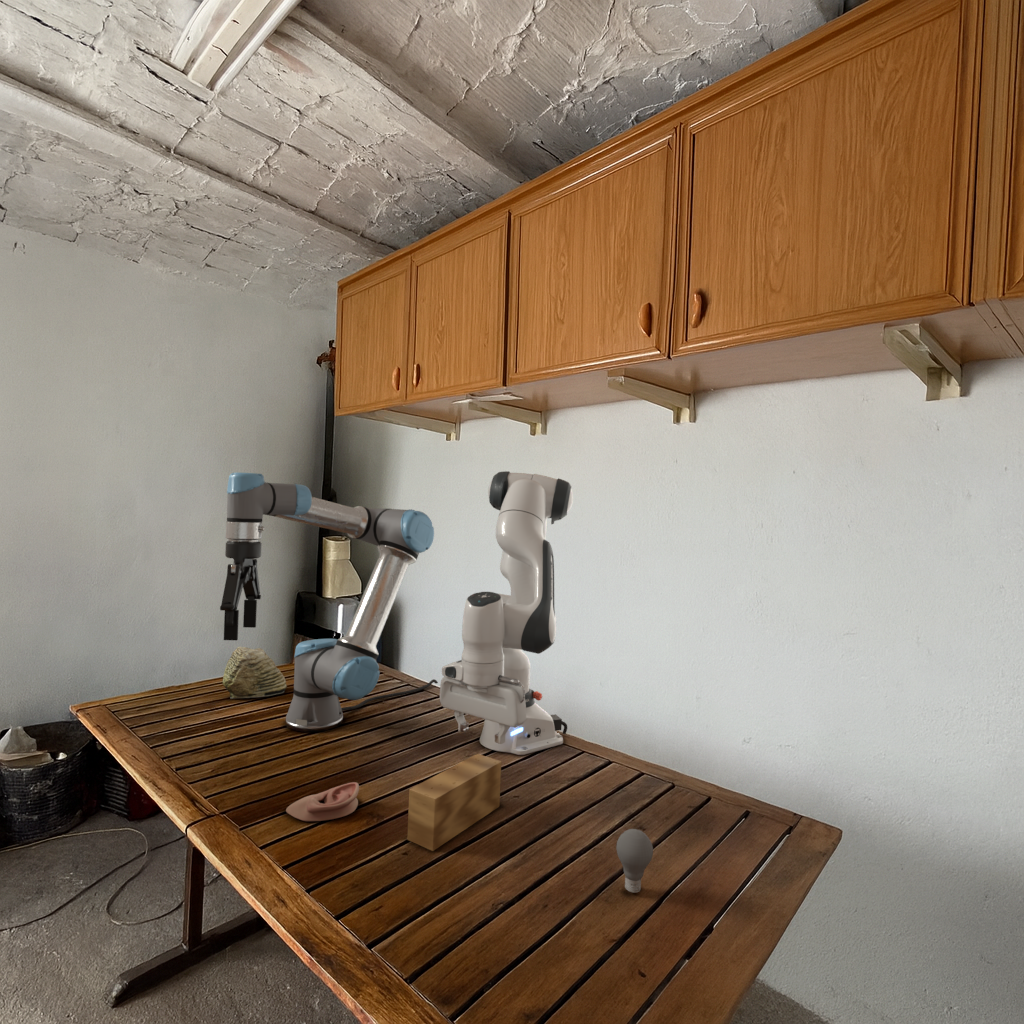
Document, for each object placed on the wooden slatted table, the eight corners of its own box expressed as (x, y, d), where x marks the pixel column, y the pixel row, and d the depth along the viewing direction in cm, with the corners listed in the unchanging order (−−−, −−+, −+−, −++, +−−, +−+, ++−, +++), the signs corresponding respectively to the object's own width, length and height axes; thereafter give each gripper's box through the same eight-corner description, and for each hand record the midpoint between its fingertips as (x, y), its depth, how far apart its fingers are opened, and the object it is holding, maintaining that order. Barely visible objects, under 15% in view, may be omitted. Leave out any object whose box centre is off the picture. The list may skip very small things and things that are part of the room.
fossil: (218, 695, 195) (220, 647, 195) (278, 685, 208) (279, 640, 207) (228, 703, 189) (230, 653, 188) (289, 692, 201) (290, 645, 201)
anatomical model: (278, 797, 124) (308, 772, 135) (277, 817, 124) (307, 791, 136) (340, 806, 122) (366, 781, 133) (339, 827, 122) (365, 799, 133)
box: (432, 851, 115) (435, 799, 115) (407, 839, 119) (409, 789, 118) (499, 806, 133) (501, 761, 133) (475, 797, 136) (477, 753, 136)
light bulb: (610, 879, 108) (613, 822, 108) (644, 879, 109) (647, 822, 109) (619, 902, 102) (622, 840, 102) (655, 901, 103) (658, 840, 103)
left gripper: (244, 545, 132) (240, 646, 133) (275, 537, 157) (272, 622, 157) (206, 543, 131) (202, 645, 132) (243, 536, 156) (240, 622, 156)
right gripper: (533, 677, 128) (531, 744, 129) (454, 659, 140) (453, 721, 140) (516, 685, 123) (514, 755, 124) (435, 666, 134) (434, 730, 135)
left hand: (240, 633), depth 144 cm, fingers open, 13 cm apart
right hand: (481, 736), depth 132 cm, fingers open, 8 cm apart
